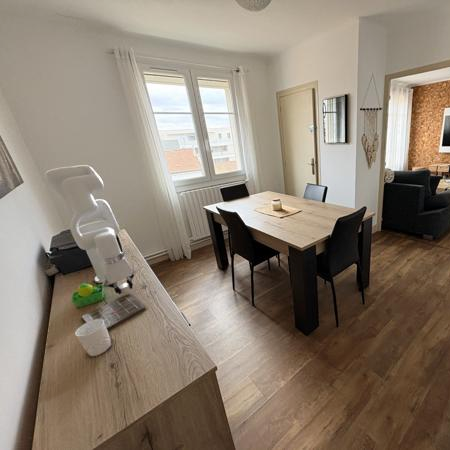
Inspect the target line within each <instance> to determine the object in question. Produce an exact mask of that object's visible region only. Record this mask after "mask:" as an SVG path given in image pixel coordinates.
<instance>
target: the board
mask: <svg viewBox="0 0 450 450" xmlns="http://www.w3.org/2000/svg"><path fill="white" fill-rule="evenodd" d="M145 310H146V307H145V306H144V305H143V304H142V303H140V302H139V301H138V300H137V299H136V298H134V297H133V295H131V294H129V293H126V294H125V295H123V296H120V297H119V298H117V299H115V300H112V301H111V302H108V303H106V304H105V305H102V306H99V307H98V308H96V309H94V310H91V311H90V312H88V313H86V314H84V315H82V316H81V318H82V320H83V322H84V323H87V322H89V321H92V320H96V319H102V320H103V321H104V323H105V326H106V328H107V331H108V332H109V331H110V330H111V329H114V328H115V327H117V326H118V325H120V324H122V323H124V322H126V321H127V320H129V319H131V318H134V316H136V315H138V314H140V313H143V311H145Z"/></svg>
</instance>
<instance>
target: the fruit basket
mask: <svg viewBox="0 0 450 450" xmlns="http://www.w3.org/2000/svg"><path fill="white" fill-rule="evenodd" d="M104 293H105V292H104V287H103V286H102V284H99V285H95V286H93V285H92V284H89V283H88V284H87V283H81V284H79V285H78V287H77V291H76V292H73V293H72V296H71V299H70V301H71V302H72V303H73V304H74V305H75V306H76V307H77V308H82V307H84V306H88V305H91V304H95V303H98V302H100V301H103V300H104Z"/></svg>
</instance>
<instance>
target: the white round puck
mask: <svg viewBox="0 0 450 450" xmlns="http://www.w3.org/2000/svg"><path fill="white" fill-rule="evenodd" d="M117 286H118V287H119V289H120V292H121V294H120V295H123V294H128V293H129V292H130V291H131V288H130V286H129V284H128V283H127V282H125V283H121V284H119V285H117Z"/></svg>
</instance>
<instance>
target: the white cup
mask: <svg viewBox="0 0 450 450" xmlns="http://www.w3.org/2000/svg"><path fill="white" fill-rule="evenodd" d="M74 335H75V337H76V338H77V340H78V342H79V343H80V345H81V346H82V348H83V350H85V352H86V354H88V355H89V356H91V357H96V356H99V355H101V354H103V353H105V352H106V351H107V350H109V349H110V347H111V345H112V340H111V338H110V334H109V330H108V331H107V328H106V326H105V323H104V321H103V320H102V319H96V320H92V321H89V322H87V323H86V322H84V323H83V324H82V325H80V326H79V327H78V328H77V329H76V330H75V332H74Z"/></svg>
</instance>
